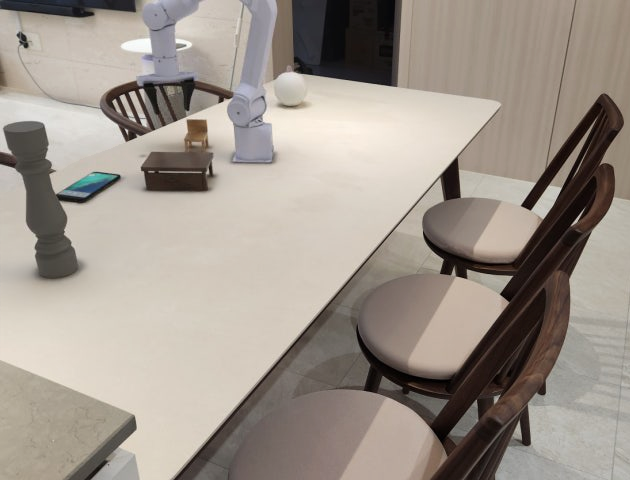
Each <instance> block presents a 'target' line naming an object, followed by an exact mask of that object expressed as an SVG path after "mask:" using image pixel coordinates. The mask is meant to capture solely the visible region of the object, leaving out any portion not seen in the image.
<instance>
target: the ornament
mask: <svg viewBox="0 0 630 480" xmlns="http://www.w3.org/2000/svg"><path fill="white" fill-rule="evenodd" d="M285 70H286V71H285V72H283V73H280V74H279V75H278V76H277V77H276V79H275V81H274V85H273V91H274V92H273V93H274V96H275V98H276V99H277V101H278V102H279V103H280V104H282V105H284V106H287V107H295V106H298V105H300V104H302V103H303V102H304V101H305V99H306V97H307V93H308V86H307V82H306V80H305V78H304V77H303V76H302V75H301V74H299V73H297V72H295V71H293V68H292V65H287V66H286V69H285Z"/></svg>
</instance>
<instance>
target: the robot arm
mask: <svg viewBox="0 0 630 480" xmlns="http://www.w3.org/2000/svg"><path fill="white" fill-rule="evenodd" d="M203 1H205V0H157V2H147V3H146V4H145V5H144V7H143V8H142V11H141V18H142V21H143V23H144V25H145V27H147V28H148V32H149V40H150V49H151V54H152V62H153V68H154V69H153V70H154V73H150V74H143V75H137V76H136V77H135V78H136V79H135V80H136V84H137V86H138V87H141V88H142V90H143V91H144V93H145V94H146V97H148V100H149V102H150V105H151V106H152V111H153V113H154V114H155V115H156V116H158V115H160V109H159V108H160V107H159V104H158V92H157V91H158V90H157V87H156V86H155V85H159V84H169V83H171V84H172V83H180V88H181V91H182V100H183V101H182V103H183V109H184V110H185V111H186V112H190V107H191V101H192V98H193V97H192V96H193V93H194V92H195V89H196V85H197V84H196V82H197V81H199V75H198V74H199V73H198V72H197V71H195V70H193V71H192V70H191V71H180V68H179V58H178V50H177V41H176V25H177V23H178V22H179V21H181V20H183V19H185V18H187V17H189V16H190V15H192V14H195V13H197V11H198V10H199V5H200V3H202V2H203ZM239 2H241V3H242V4H243V5H244V6H245V7H246V9H247V10H248V12H249V13H250V15H251V18H250V23H249V30H248V34H247V35H248V36H247V41H246V46H245V52H244V57H243V64H242V67H241V68H242V69H241V75H240V80H239V83H238V85H237V87H236V88H235V90H234V91H233V94H232V98H231V100H230V101H229V102H228V104H227V107H226V114H227V116H228V119H229V120H230V122H231V123H232V125H233V138H234V150H235V152H234V155H233V158H232V163H261V164H263V163H264V164H265V163H268V164H269V163H272V162H273V156H274V153H275V148H274V147H275V145H274V144H273V143H274V140H273V139H274V138H273V125H272V122H271V123H270V122H265V121H264V114H265V113H266V111H267V108H268V102H267V99H266V97H267V96H266V95H267V90H266V89H265V87H264V82H265V77H266V72H267V66H268V61H269V57H270V53H271V47H272V42H273V37H274V32H275V27H276V22H277V16H278V6H277V5H278V4H277V1H276V0H239Z"/></svg>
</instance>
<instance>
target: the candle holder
mask: <svg viewBox="0 0 630 480" xmlns="http://www.w3.org/2000/svg"><path fill="white" fill-rule="evenodd" d="M2 130H3V134H4V138H5V139H4V140H5V142H6V145H7V149H8V150H9V151H10V153H11V155H12V156H13V157H14V158H15V159H16V160H17V163H16V164H15V165H14V169H15V171H16V172H17V173H19V174H20V175H21V177H22V181H23V185H24V188H25V189H24V190H25V224H26V226H27V228H28V229H29V231H31V233H33V234H34V235H35V238H36V239H37V240H36V242H35V245H34V247H33V248H34V251H35V254H34V259H35V261H36V266H37V269H38V273H39V275H40V276H41V277H43V278H46V279H60V278H61V279H62V278H65V277H68V276H71V275H73V274H74V273H75V272H77V270H78V269H79V261H78V257H77V253H76V249H75V248H74V247H73V245H72V241H71V239H70V238H69V237H67V235H66V234H65V233H66V227H67V224H68V215H67V213H66V211H65V209H64V207H63V205H62V204H61V201H60V199H58V198H57V196H56V194H57V193H56V192H55V190H54V188H53V184H52V179H51V174H50V170H51V169H52V166H53V163H52V161H51V160H49V159H47V158H46V157H47V153H48V151H49V145H50V143H49V138H48V134H47V129H46V125H45V123H44V122H42V121H38V120H37V121H36V120H22V121H21V120H20V121H15V122H12V123H8V124H6V125H4V126H3V128H2Z"/></svg>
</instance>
